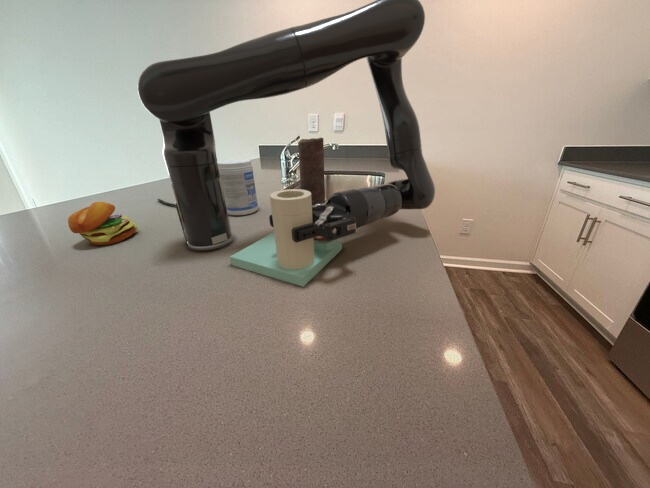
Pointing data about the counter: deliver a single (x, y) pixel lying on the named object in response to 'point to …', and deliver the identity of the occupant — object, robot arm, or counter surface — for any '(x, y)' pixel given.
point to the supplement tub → (238, 186)
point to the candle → (312, 168)
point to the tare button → (320, 239)
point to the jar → (288, 214)
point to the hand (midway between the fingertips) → (281, 228)
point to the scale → (266, 263)
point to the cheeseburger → (101, 224)
